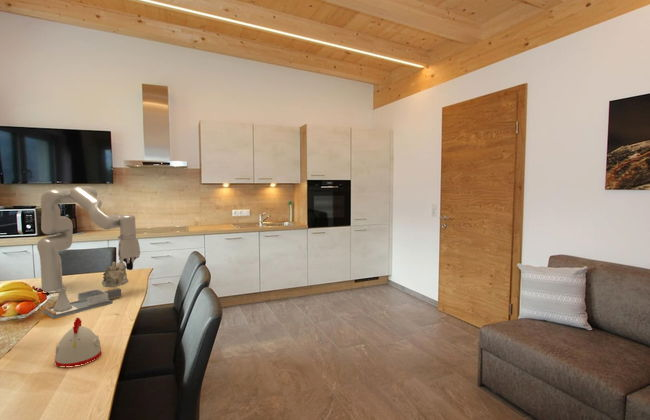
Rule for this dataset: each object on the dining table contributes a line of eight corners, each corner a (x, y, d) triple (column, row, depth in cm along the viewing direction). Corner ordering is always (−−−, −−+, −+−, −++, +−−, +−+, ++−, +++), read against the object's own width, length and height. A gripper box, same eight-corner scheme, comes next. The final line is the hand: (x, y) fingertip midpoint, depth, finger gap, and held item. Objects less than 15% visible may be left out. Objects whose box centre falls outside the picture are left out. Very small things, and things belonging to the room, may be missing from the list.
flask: (61, 312, 168) (61, 292, 167) (49, 311, 170) (48, 291, 169) (75, 307, 175) (74, 287, 174) (63, 306, 177) (62, 286, 176)
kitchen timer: (49, 371, 120) (47, 328, 119) (61, 352, 133) (59, 314, 131) (97, 363, 126) (96, 322, 124) (104, 346, 138) (102, 309, 137)
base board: (43, 312, 171) (42, 307, 171) (101, 298, 192) (101, 294, 192) (53, 318, 164) (53, 313, 164) (112, 303, 185) (112, 299, 185)
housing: (78, 301, 183) (77, 293, 182) (114, 292, 197) (114, 285, 197) (88, 306, 176) (87, 298, 176) (125, 297, 191) (125, 289, 190)
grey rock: (112, 278, 229) (111, 256, 227) (133, 281, 226) (132, 259, 223) (91, 287, 214) (89, 263, 212) (114, 290, 211) (112, 266, 208)
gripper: (117, 239, 188) (119, 273, 189) (145, 236, 200) (146, 267, 201) (110, 238, 192) (112, 271, 193) (138, 234, 204) (139, 266, 206)
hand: (129, 269), depth 197 cm, fingers closed
